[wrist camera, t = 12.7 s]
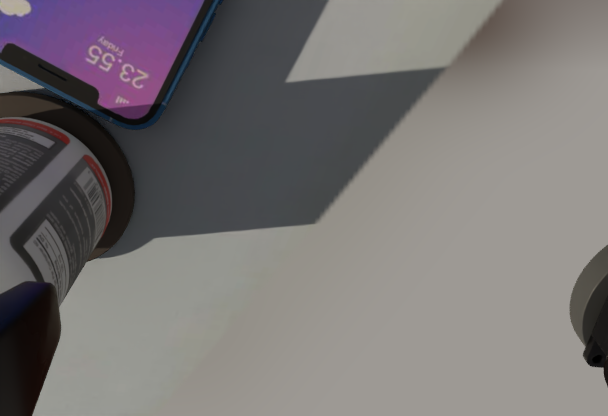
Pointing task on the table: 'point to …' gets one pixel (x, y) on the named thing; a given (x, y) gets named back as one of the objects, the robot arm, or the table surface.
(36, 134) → the pill bottle
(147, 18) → the smartphone
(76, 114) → the coaster
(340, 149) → the table surface
